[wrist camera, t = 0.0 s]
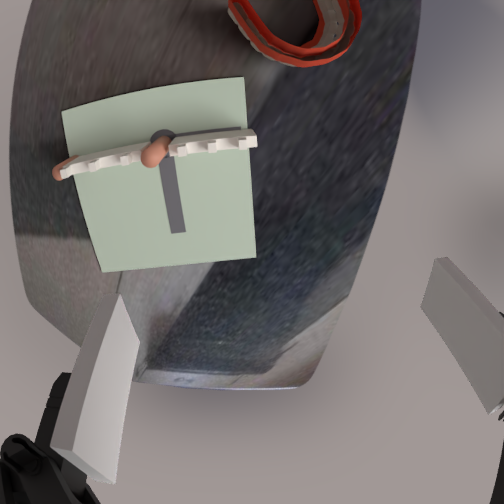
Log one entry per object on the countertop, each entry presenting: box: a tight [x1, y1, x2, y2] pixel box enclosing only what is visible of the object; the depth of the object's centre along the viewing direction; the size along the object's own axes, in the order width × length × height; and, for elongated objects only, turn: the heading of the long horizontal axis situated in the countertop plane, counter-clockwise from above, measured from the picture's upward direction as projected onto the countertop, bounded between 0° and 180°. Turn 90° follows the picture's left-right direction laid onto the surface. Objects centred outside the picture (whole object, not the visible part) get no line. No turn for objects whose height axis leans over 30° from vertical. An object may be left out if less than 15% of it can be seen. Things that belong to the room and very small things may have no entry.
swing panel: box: [52, 141, 151, 180], centre depth 31 cm, size 11×2×6 cm, turn 94°
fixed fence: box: [141, 129, 257, 168], centre depth 31 cm, size 2×12×8 cm, turn 93°
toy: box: [228, 0, 362, 67], centre depth 25 cm, size 12×10×8 cm
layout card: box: [62, 77, 256, 272], centre depth 37 cm, size 24×23×1 cm
